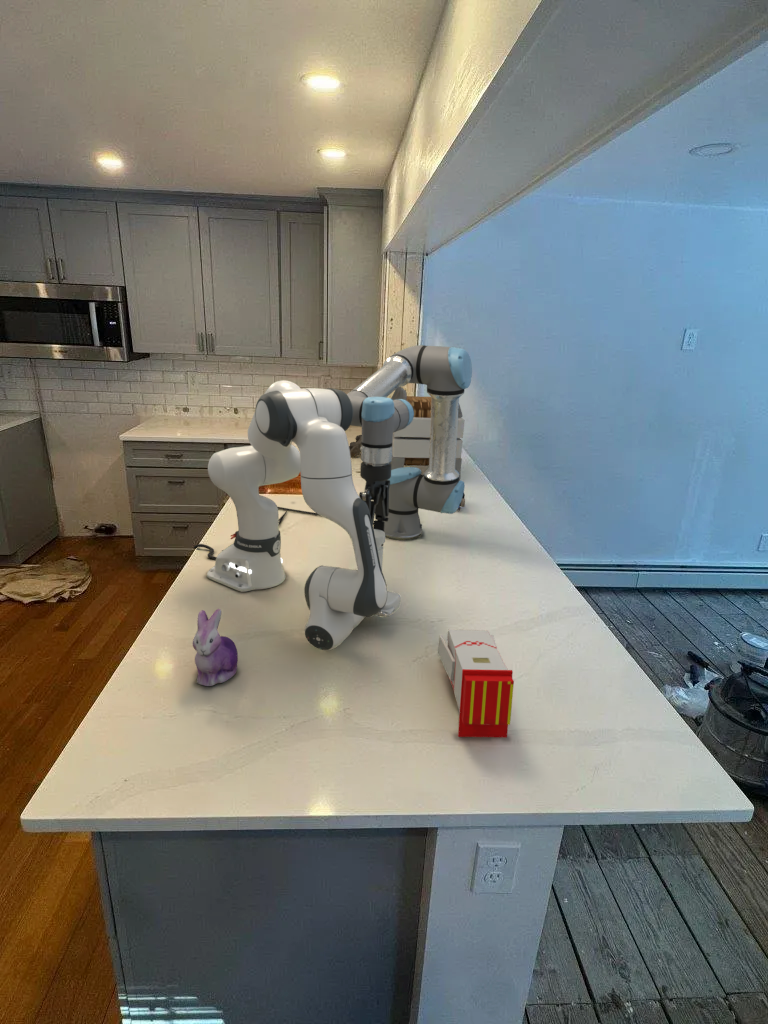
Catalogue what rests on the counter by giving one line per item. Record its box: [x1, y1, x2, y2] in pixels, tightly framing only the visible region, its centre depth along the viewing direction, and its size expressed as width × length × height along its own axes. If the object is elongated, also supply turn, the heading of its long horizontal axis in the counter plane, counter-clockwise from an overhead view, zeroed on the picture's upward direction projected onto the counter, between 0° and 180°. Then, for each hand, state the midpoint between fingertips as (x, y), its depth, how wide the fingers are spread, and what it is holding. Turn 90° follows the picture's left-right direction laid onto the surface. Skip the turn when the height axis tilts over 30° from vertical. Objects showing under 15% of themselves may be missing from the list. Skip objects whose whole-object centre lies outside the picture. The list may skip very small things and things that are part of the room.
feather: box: [279, 510, 288, 526], centre depth 213 cm, size 2×28×2 cm
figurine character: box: [457, 492, 466, 511], centre depth 229 cm, size 7×8×15 cm
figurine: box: [192, 608, 239, 687], centre depth 118 cm, size 9×10×15 cm
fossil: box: [349, 434, 362, 458], centre depth 305 cm, size 22×10×15 cm
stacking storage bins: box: [390, 386, 465, 481], centre depth 268 cm, size 34×33×41 cm
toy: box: [437, 628, 515, 738], centre depth 117 cm, size 12×13×30 cm
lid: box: [373, 528, 386, 546], centre depth 145 cm, size 6×6×2 cm
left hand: (372, 583), depth 150 cm, fingers closed on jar, 5 cm apart
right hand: (373, 549), depth 146 cm, fingers closed on lid, 6 cm apart
